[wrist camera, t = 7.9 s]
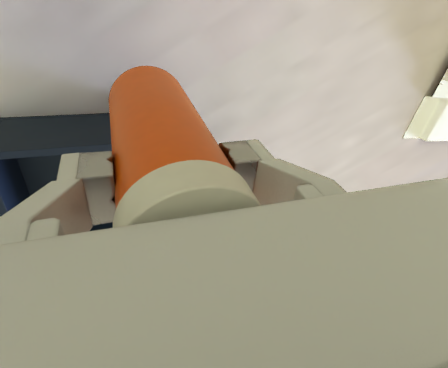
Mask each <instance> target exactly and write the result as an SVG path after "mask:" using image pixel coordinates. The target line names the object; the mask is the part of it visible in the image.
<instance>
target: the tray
mask: <svg viewBox="0 0 448 368" xmlns="http://www.w3.org/2000/svg"><path fill="white" fill-rule="evenodd" d="M403 138H420V139H422V140H424V141H448V69H447V71H446V73H445V74H444V76H443V78H442V80H441V82H440V84H439V85H438V87H437V89H436V91H435V93H434V95H433V96H425V97H424V99H423V101H422V102H421V104H420V106H419V108H418V110H417V112H416V114H415V116H414V118H413V120H412V121H411V123H410V125H409V127H408V129H407V131H406V133H405V135H404V137H403Z"/></svg>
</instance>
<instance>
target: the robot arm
mask: <svg viewBox="0 0 448 368" xmlns="http://www.w3.org/2000/svg"><path fill="white" fill-rule="evenodd" d="M219 147H220V148H221V150H222V152H223V153H224V155H225V156H226V158H227V159H228V161H229V162H230V164H231V166H232V167H233V169H234V170H235V171H236V172H237V173H238V174H240V175H241V176H242V177H243V179H244V180H245V181H246V183H247V184H248V186H249V187H250V189H251V190H252V192H253V193H254V195H255V196H256V198H257V199H258V201H259V203H260V204H261V206H255V207H248V208H241V209H235V210H228V211H221V212H215V213H208V214H201V215H195V216H188V217H181V218H175V219H168V220H161V221H155V222H148V223H141V224H135V225H128V226H121V227H114V228H108V229H101V230H94V231H90V230H91V228H92V227H93V225H99V224H105V223H110V222H113V217H114V213H115V210H116V207H115V177H114V163H113V154H112V151H103V152H86V153H69V154H62V155H61V160H60V165H59V170H58V175H57V180H56V181H51V182H50V183H48V184H47V185H45V186H44V187H42V188H41V189H40V190H38V191H37V192H35V193H34V194H32V195H31V196H30V197H28V198H27V199H25V200H24V201H22V202H21V203H19V204H18V205H17V206H15V207H14V208H12V209H11V210H9V211H8V212H7V213H5V214H4V215H2V216H1V217H0V368H448V178H442V179H435V180H429V181H422V182H415V183H409V184H402V185H395V186H389V187H382V188H375V189H368V190H362V191H355V192H348V193H347V192H346V191H345V190H344V189H343V188H342V187H341V186H340V185H339V184H338V183H336V182H335V181H334V180H332V179H330V178H327V177H325V176H322V175H319V174H317V173H314V172H312V171H309V170H307V169H304V168H301V167H299V166H296V165H294V164H291V163H289V162H286V161H283V160H281V159H275V158H274V157H273V156H272V155H271V154H270V153H269V152H268V150H267V149H266V148H265V147H264V146H263V145H262V144H261V142H260V141H259V140H256V139H254V140H244V141H234V142H224V143H219Z"/></svg>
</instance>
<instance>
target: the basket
mask: <svg viewBox="0 0 448 368" xmlns="http://www.w3.org/2000/svg"><path fill="white" fill-rule="evenodd" d="M103 151H112V145H111V129H110V114H109V113H102V114H79V115H55V116H31V117H8V118H0V217H1V216H2V215H4V214H5V213H7V212H8V211H9V210H11V209H12V208H14V207H15V206H17V205H18V204H19V203H21V202H22V201H24V200H25V199H27V198H28V197H30V196H31V195H32V194H34V193H35V192H37V191H38V190H40V189H41V188H42V187H44V186H45V185H47V184H48V183H50V182H51V181H56V180H57V175H58V170H59V165H60V160H61V155H62V154H69V153H86V152H103ZM108 228H113V222H110V223H105V224H99V225H93V227H92V228H91V230H90V231H94V230H101V229H108Z"/></svg>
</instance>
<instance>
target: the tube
mask: <svg viewBox="0 0 448 368" xmlns="http://www.w3.org/2000/svg"><path fill="white" fill-rule="evenodd" d="M109 114H110V129H111V145H112V154H113V163H114V177H115V207H116V210H115V213H114V217H113V228H114V227H121V226H128V225H135V224H141V223H148V222H155V221H161V220H168V219H175V218H181V217H188V216H195V215H201V214H208V213H215V212H221V211H228V210H235V209H241V208H248V207H255V206H261V204H260V203H259V201H258V199H257V198H256V196H255V195H254V193H253V192H252V190H251V189H250V187H249V186H248V184H247V183H246V181H245V180H244V179H243V177H242V176H241V175H240V174H238V173H237V172H236V171H235V170H234V169H233V167H232V166H231V164H230V162H229V161H228V159H227V158H226V156H225V155H224V153H223V152H222V150H221V148H220V147H219V145H218V144H217V142H216V141H215V139H214V137H213V136H212V134H211V133H210V131H209V130H208V128H207V126H206V125H205V123H204V122H203V120H202V119H201V117H200V115H199V114H198V112H197V111H196V109H195V108H194V106H193V104H192V103H191V101H190V100H189V98H188V97H187V95H186V93H185V92H184V90H183V89H182V87H181V86H180V84H179V83H178V81H177V80H176V79H175V78H174V77H173V76H172V75H171V74H170V73H168V72H167V71H165V70H163V69H160V68H157V67H153V66H139V67H135V68H132V69H129V70H127V71H126V72H124V73H123V74H121V75H120V76H119V77H118V78H117V80H116V81H115V82H114V84H113V86H112V88H111V90H110V94H109Z"/></svg>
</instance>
